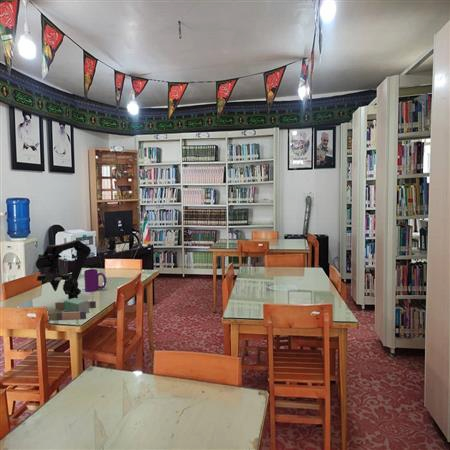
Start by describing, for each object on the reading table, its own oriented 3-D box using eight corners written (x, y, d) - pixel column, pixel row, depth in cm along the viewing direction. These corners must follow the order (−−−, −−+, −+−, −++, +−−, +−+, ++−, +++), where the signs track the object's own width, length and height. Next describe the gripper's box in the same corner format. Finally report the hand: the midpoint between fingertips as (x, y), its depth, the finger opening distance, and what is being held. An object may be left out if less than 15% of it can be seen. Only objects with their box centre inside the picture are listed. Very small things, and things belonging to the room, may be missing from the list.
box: (74, 308, 219) (74, 297, 218) (89, 312, 212) (88, 300, 212) (64, 312, 213) (63, 300, 212) (78, 316, 206) (78, 303, 205)
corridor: (56, 308, 219) (55, 302, 219) (95, 307, 221) (95, 301, 220) (42, 320, 199) (41, 313, 199) (85, 318, 201) (85, 312, 201)
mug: (88, 288, 264) (87, 269, 263) (108, 288, 264) (107, 268, 263) (83, 292, 255) (82, 271, 254) (104, 292, 255) (103, 271, 254)
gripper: (31, 269, 206) (33, 295, 207) (64, 268, 207) (66, 294, 209) (40, 265, 217) (41, 290, 218) (71, 264, 218) (72, 289, 220)
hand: (55, 290), depth 216 cm, fingers closed
